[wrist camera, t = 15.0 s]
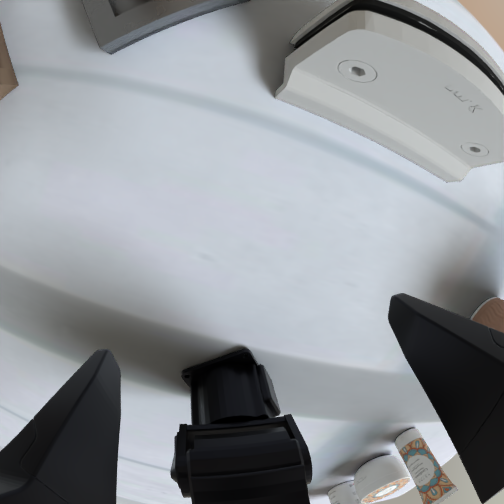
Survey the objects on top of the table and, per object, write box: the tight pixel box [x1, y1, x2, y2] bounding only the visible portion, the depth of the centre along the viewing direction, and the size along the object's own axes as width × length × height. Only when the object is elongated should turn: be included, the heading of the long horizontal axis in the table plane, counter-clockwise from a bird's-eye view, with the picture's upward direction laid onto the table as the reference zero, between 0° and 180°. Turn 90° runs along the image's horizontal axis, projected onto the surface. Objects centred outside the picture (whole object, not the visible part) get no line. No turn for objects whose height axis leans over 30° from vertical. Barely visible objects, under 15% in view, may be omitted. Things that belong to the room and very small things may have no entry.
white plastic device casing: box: [275, 0, 504, 183], centre depth 16 cm, size 17×5×10 cm, turn 71°
